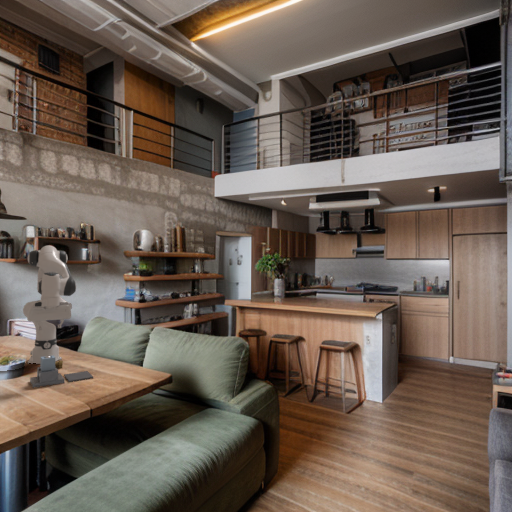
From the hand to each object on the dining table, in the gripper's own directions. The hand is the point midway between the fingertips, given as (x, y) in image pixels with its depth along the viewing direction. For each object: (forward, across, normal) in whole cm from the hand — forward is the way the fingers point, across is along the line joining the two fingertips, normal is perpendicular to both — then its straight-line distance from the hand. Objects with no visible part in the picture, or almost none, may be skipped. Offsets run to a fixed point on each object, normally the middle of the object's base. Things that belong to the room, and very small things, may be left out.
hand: (49, 328), depth 187 cm
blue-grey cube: (+21, 0, 0) cm, 21 cm away
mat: (+28, -15, 0) cm, 31 cm away
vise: (+28, 0, 0) cm, 28 cm away
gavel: (+28, -5, -19) cm, 34 cm away
